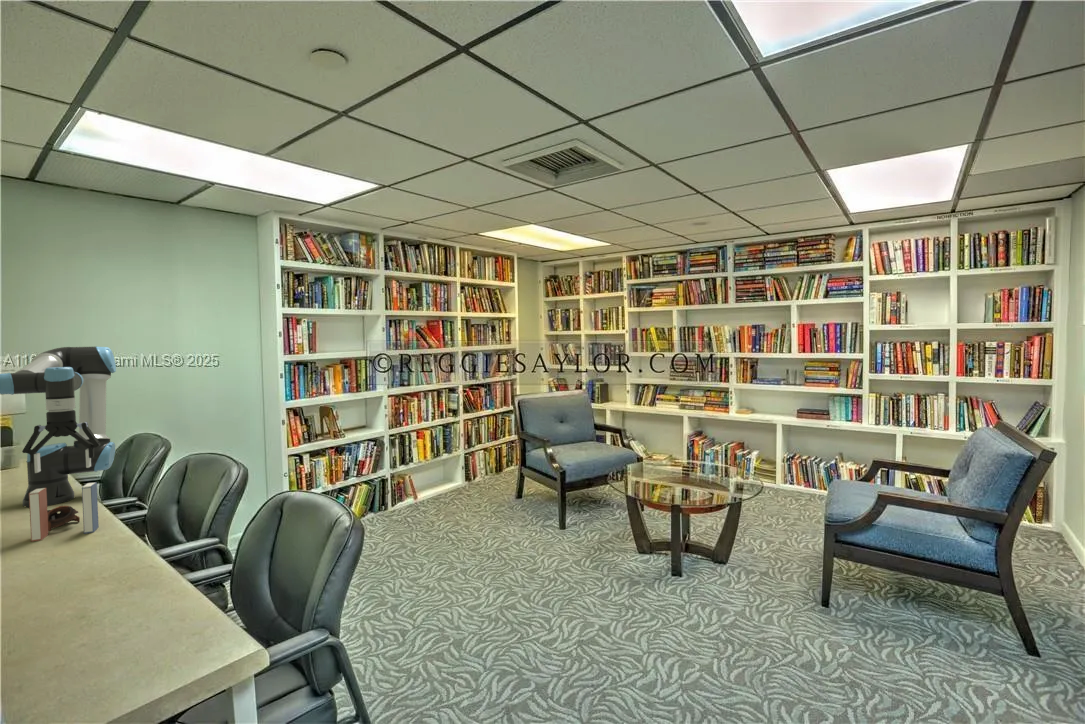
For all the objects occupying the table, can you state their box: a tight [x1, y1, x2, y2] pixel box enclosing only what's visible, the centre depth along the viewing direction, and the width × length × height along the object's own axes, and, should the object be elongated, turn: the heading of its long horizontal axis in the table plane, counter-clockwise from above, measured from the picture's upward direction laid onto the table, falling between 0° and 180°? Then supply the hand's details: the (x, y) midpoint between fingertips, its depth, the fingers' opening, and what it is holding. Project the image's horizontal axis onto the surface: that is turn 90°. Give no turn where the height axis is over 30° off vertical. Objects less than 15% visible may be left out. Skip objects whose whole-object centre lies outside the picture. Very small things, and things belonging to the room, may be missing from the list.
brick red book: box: [29, 488, 49, 542], centre depth 167 cm, size 6×2×16 cm, turn 29°
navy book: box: [81, 481, 100, 535], centre depth 173 cm, size 6×2×16 cm, turn 29°
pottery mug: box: [47, 505, 81, 532], centre depth 177 cm, size 12×9×8 cm
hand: (63, 469), depth 179 cm, fingers open, 13 cm apart
